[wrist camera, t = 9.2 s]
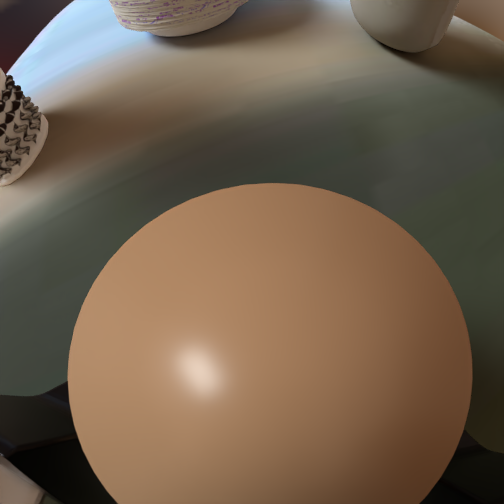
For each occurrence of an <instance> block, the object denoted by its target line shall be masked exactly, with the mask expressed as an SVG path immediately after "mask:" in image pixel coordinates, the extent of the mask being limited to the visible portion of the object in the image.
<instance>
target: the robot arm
mask: <svg viewBox="0 0 504 504" xmlns="http://www.w3.org/2000/svg"><path fill="white" fill-rule="evenodd" d="M0 504H118V503H117V502H116V501H115V500H114V498H113V497H112V496H111V495H110V494H109V493H108V491H107V490H106V489H105V487H104V486H103V484H102V483H101V482H100V480H99V479H98V477H97V476H96V474H95V473H94V471H93V469H92V467H91V465H90V463H89V461H88V459H87V457H86V455H85V453H84V451H83V449H82V446H81V444H80V441H79V438H78V435H77V432H76V429H75V426H74V422H73V417H72V413H71V408H70V402H69V390H68V381H67V382H65V383H63V384H61V385H59V386H57V387H55V388H53V389H52V390H50V391H48V392H45V393H43V394H40V395H36V396H10V395H0ZM419 504H504V454H503V453H497V452H493V451H490V450H488V449H486V448H484V447H483V446H481V445H480V444H479V443H478V442H476V441H475V440H474V439H473V438H472V437H471V436H470V435H469V434H468V433H467V432H466V431H465V430H463V433H462V435H461V438H460V440H459V443H458V445H457V448H456V450H455V453H454V455H453V457H452V458H451V460H450V462H449V464H448V466H447V467H446V469H445V471H444V472H443V474H442V476H441V477H440V479H439V480H438V481H437V483H436V484H435V485H434V487H433V488H432V489H431V491H430V492H429V493H428V495H427V496H426V497H425V498H424V499H423V500H422V501H421V502H420V503H419Z"/></svg>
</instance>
